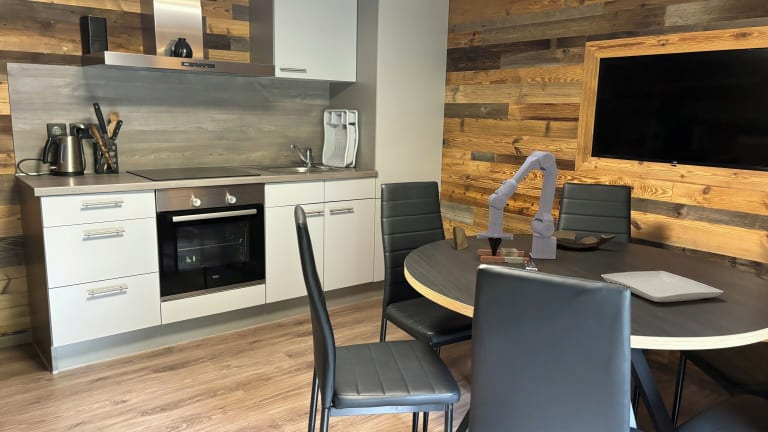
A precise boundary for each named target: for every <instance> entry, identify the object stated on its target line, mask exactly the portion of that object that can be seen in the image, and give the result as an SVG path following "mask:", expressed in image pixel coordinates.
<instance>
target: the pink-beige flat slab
mask: <svg viewBox="0 0 768 432" xmlns="http://www.w3.org/2000/svg"><path fill="white" fill-rule="evenodd" d="M517 251H518V257H501V249H500V250H499V249H498V250H497V253H496V256H492V251H491V249H477V255H478V256H480V262H481V263H482V262H483V263H502V262H508V263H507V264H509V263H510V264H525V263H524V262H525V261H529V262H530V258H529V257H525V251H524V250H517Z"/></svg>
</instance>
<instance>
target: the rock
mask: <svg viewBox="0 0 768 432" xmlns="http://www.w3.org/2000/svg"><path fill="white" fill-rule="evenodd" d="M465 231H466V230H465V229H464V228H463V227H461V226H459V225H457V226H456V225H455V226H453V227H452V239H453V240H452V241H453V242H452V243H453V244H452V247H453V248H452V249H454V250H456V251H461V250H464V249H466V248H467V247H469V246H470V242H469V238H468V235H467V234H466V232H465Z"/></svg>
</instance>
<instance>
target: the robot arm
mask: <svg viewBox="0 0 768 432" xmlns="http://www.w3.org/2000/svg"><path fill="white" fill-rule="evenodd" d="M556 160H557V158H556V157H555V156H554V155H553V153H551V152H549V151H540V150H534V151H532V152H531V153H530V155H529V156H527V157H526V160H525V161H524V162H523V164H522V165H521V167H519V169H518V170H517V171H516V172H515V174H514V175H513V177H512V178H511V179H506V180H503V181H502V185H501V186H500V187H499V188H498V189H496V190H495V191H494V193H492V194H490V195H489V196H488V199H487V200H486V202H487V205H488V206H489V207H488V208H489V211H488V227H487V232H476V239H487V241H488V243H489V247H490V250H491V251H492V255H491V256H496V253H497V250H499V247H500V246H501V243H502V240H510V241H511V240H512V241H513V240H514V234H513V233H505V232H504V233H503V229H504V228H503V227H504V223H503V222H504V208H505V207H507V204H508V200H509V199H510V198H511V197H512V196H513V195H514V193H515V192H517V190H518V189H519V188H518V187H519V184H520V183H521V182H522V181H523V180H524V179H525V178H526V177H527V176H528V175H529V174H530V173H531V172H532V171H536V170H539V171H540V172H541V174H543V176H542V177H543V178H542V184H541V189H540V195H539V196H540V197H539V204H538V209H537V212H536V213H535V214H534V218H533V220H532V222H531V223H530V230H531V231H532V243H531V246H532V247H531V252H529V255H530V256H531V258H532V259H546V260H547V259H549V260H556V259H557V258H556V257H557V256H556V254H557V243H556V237H553V236H551V235H552V234H553V233H554V231H556V229H555V225H554V222H555V219H554V217H553V215H552V211H553V207H554V206H553V205H554V198H555V193H556V186H557V180H558V175H559V170H558V167H557V163H556ZM496 257H497V256H496Z"/></svg>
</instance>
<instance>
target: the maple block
mask: <svg viewBox="0 0 768 432" xmlns="http://www.w3.org/2000/svg"><path fill="white" fill-rule="evenodd" d="M500 250H501V256H500V257H519V256H518V251H519V250H517V248H508V247H505V248H504V247H501V248H500Z"/></svg>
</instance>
